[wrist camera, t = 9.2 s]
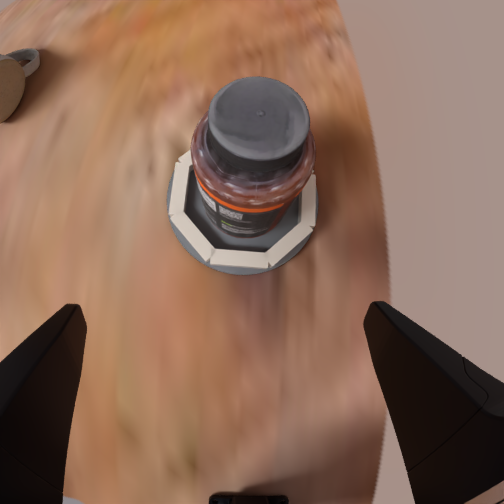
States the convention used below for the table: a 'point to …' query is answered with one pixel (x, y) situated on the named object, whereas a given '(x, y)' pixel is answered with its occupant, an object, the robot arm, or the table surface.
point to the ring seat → (231, 248)
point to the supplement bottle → (252, 155)
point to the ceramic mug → (15, 78)
